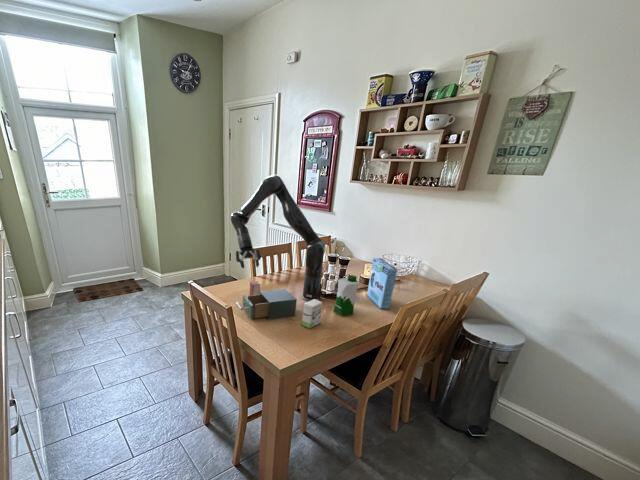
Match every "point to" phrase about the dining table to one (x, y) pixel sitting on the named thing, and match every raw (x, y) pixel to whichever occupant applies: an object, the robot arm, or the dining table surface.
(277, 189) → the robot arm
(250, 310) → the drawer
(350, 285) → the milk carton
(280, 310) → the cabinet
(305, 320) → the ink box
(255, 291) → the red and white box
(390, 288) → the light blue box
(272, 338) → the dining table surface
